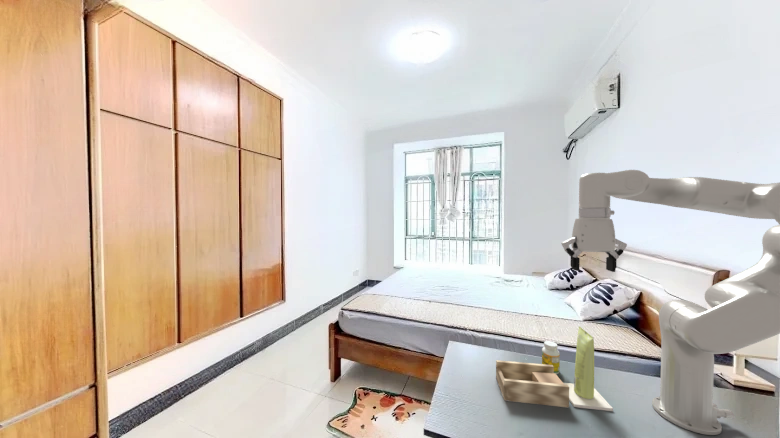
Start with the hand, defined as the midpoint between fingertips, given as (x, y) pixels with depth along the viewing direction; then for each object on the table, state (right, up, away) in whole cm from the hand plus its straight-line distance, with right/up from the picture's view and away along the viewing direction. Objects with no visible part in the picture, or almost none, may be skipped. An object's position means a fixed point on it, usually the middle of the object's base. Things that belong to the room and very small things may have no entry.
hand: (592, 270), depth 80 cm
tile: (-3, -38, 0) cm, 38 cm away
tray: (-18, -38, +2) cm, 42 cm away
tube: (-3, -38, -1) cm, 38 cm away
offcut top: (-13, -36, +1) cm, 38 cm away
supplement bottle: (-5, -38, +13) cm, 41 cm away
